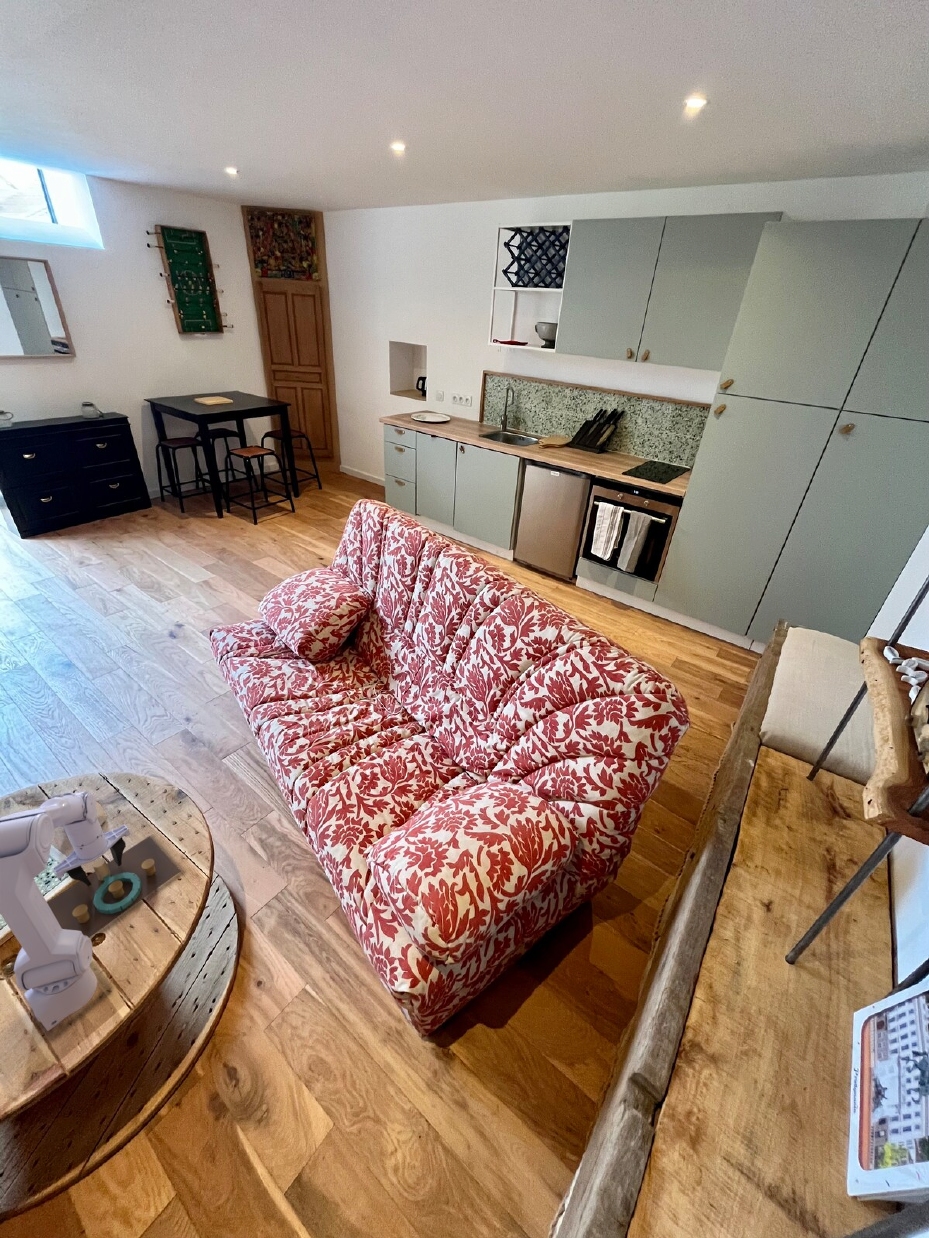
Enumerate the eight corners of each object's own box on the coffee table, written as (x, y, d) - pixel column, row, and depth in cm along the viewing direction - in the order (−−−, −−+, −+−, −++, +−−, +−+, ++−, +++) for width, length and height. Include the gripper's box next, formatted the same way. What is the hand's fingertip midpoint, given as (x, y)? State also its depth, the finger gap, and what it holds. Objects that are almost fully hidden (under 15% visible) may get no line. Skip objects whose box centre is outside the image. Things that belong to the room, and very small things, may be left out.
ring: (106, 922, 109) (100, 908, 107) (81, 886, 115) (74, 873, 113) (148, 891, 116) (143, 878, 113) (122, 859, 122) (117, 846, 119)
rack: (71, 953, 104) (65, 942, 102) (42, 908, 111) (36, 897, 109) (181, 873, 121) (178, 862, 119) (150, 838, 128) (146, 827, 126)
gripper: (113, 804, 118) (128, 841, 124) (39, 847, 107) (60, 885, 114) (128, 821, 114) (142, 858, 121) (53, 867, 104) (73, 904, 111)
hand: (103, 872), depth 117 cm, fingers open, 6 cm apart
